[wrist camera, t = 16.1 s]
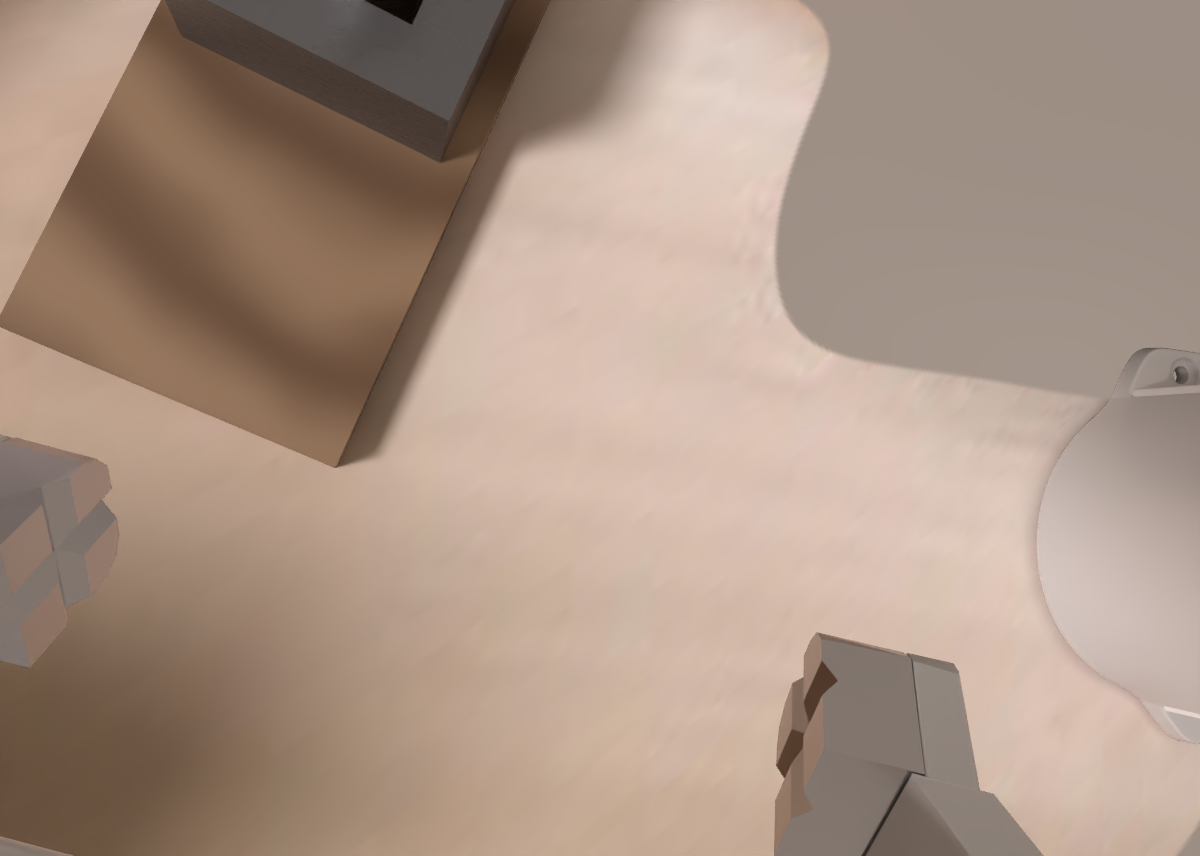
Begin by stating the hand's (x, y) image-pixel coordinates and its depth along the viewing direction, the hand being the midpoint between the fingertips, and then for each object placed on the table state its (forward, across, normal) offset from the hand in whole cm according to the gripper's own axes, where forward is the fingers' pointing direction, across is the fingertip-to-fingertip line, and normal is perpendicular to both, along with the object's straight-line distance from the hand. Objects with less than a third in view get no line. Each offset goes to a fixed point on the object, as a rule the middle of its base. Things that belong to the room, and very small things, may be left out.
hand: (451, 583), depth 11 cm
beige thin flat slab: (+30, +14, +7) cm, 34 cm away
